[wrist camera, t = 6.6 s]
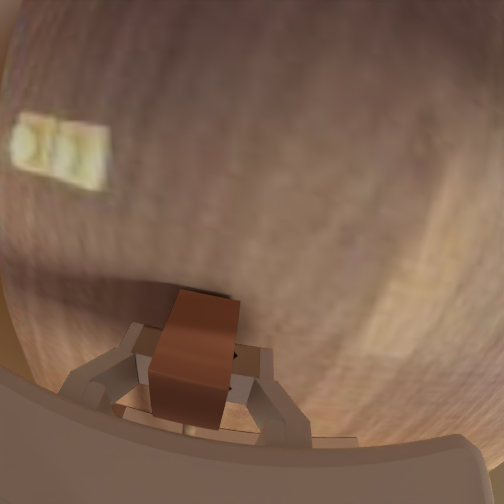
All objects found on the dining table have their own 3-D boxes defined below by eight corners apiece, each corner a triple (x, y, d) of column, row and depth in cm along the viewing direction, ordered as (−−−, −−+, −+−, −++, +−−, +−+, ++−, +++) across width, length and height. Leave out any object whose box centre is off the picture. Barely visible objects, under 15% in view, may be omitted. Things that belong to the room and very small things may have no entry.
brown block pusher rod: (151, 282, 12) (81, 419, 6) (270, 306, 12) (270, 463, 6) (165, 472, 23) (153, 526, 17) (213, 482, 23) (206, 537, 17)
